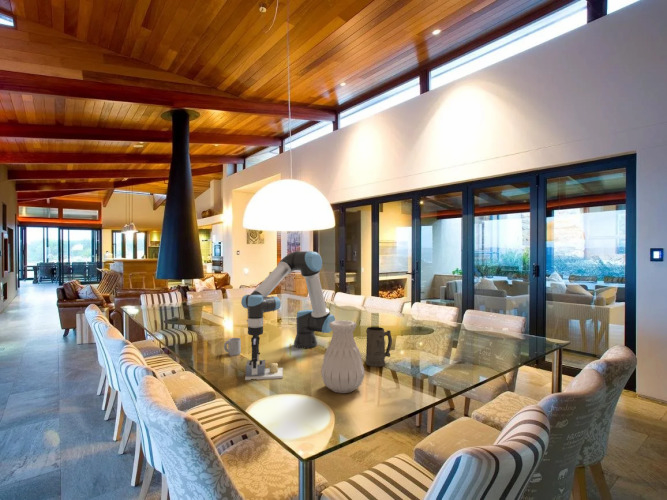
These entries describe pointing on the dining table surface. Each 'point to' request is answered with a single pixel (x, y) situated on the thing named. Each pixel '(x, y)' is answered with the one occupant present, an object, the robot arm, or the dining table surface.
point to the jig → (269, 372)
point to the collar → (259, 370)
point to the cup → (233, 346)
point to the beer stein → (377, 346)
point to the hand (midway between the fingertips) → (255, 370)
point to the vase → (342, 359)
